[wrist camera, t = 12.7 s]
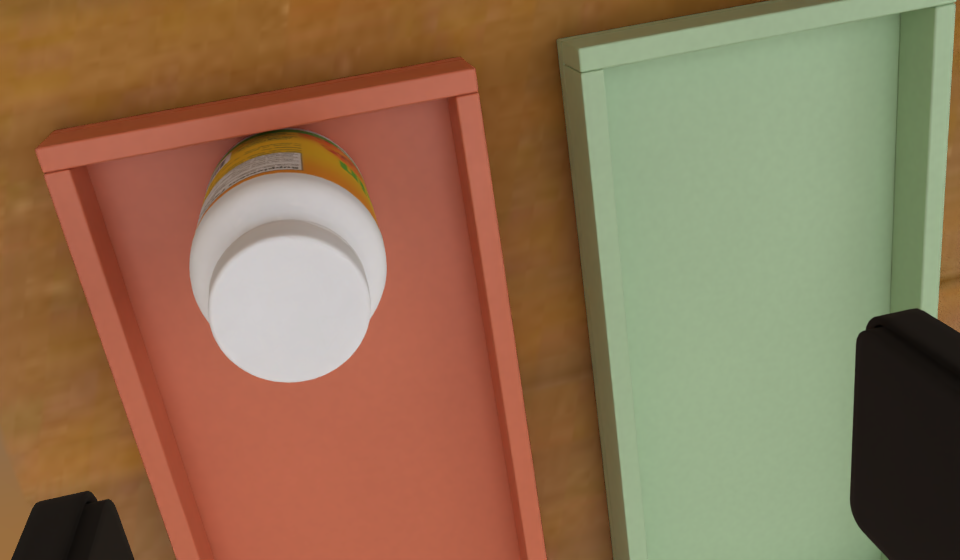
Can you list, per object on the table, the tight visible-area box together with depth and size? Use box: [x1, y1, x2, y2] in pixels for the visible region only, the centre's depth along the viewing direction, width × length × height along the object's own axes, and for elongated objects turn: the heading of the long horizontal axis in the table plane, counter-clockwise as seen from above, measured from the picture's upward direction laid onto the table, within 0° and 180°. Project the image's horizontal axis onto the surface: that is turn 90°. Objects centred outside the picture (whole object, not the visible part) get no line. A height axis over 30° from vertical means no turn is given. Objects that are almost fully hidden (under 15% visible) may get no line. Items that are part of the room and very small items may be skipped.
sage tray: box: [557, 0, 956, 560], centre depth 37 cm, size 28×14×3 cm, turn 9°
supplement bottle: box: [189, 128, 387, 383], centre depth 27 cm, size 5×5×10 cm
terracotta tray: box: [35, 57, 547, 560], centre depth 35 cm, size 28×14×3 cm, turn 9°
